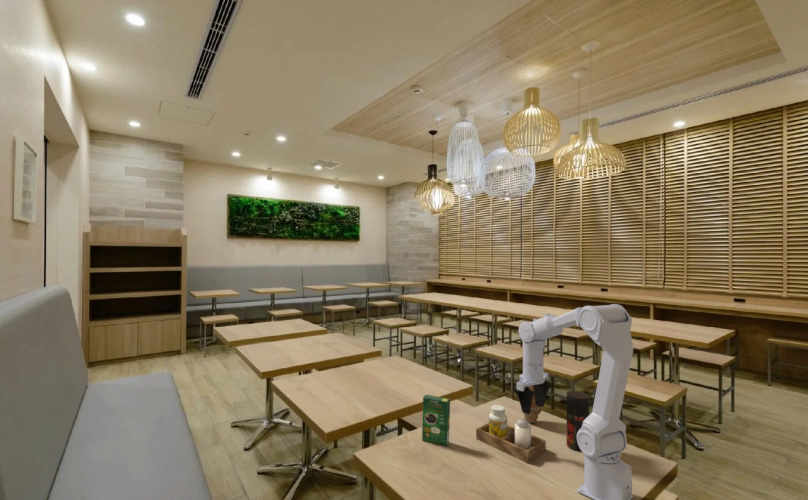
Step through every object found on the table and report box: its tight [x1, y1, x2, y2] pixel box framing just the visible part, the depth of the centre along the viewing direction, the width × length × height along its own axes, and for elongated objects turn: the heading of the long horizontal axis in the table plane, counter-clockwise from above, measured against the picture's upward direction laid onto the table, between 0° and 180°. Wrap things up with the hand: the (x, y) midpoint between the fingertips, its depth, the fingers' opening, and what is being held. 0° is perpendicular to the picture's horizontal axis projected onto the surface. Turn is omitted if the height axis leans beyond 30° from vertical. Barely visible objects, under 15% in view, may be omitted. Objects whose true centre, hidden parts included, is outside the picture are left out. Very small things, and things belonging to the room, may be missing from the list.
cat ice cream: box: [523, 385, 542, 424], centre depth 124 cm, size 9×8×18 cm
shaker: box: [514, 417, 532, 450], centre depth 106 cm, size 4×4×8 cm
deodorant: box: [566, 390, 590, 453], centre depth 108 cm, size 6×6×15 cm
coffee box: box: [421, 394, 451, 446], centre depth 111 cm, size 8×3×13 cm, turn 67°
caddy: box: [475, 422, 547, 464], centre depth 109 cm, size 17×10×3 cm, turn 41°
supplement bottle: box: [488, 404, 508, 438], centre depth 112 cm, size 5×5×10 cm
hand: (533, 409), depth 109 cm, fingers open, 7 cm apart
